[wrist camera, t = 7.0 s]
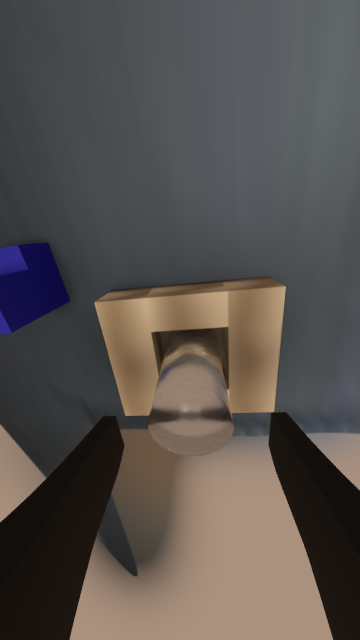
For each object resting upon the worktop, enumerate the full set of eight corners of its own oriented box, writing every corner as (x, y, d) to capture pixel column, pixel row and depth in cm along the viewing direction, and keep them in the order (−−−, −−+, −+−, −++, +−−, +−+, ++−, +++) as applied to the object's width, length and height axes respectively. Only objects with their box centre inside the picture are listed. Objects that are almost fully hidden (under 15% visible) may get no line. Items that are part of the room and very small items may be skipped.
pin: (217, 320, 16) (236, 394, 9) (216, 363, 17) (231, 457, 10) (166, 321, 16) (142, 393, 9) (170, 363, 18) (152, 454, 10)
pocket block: (268, 276, 15) (285, 286, 12) (262, 385, 19) (273, 411, 16) (111, 290, 16) (94, 302, 13) (135, 390, 20) (125, 415, 17)
